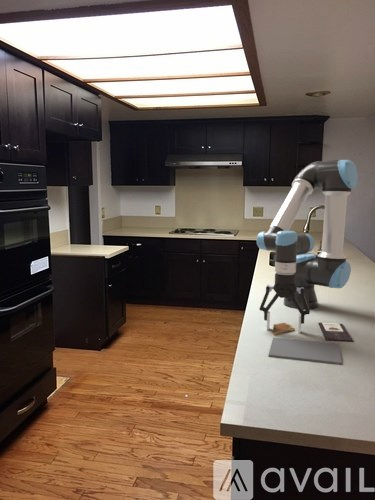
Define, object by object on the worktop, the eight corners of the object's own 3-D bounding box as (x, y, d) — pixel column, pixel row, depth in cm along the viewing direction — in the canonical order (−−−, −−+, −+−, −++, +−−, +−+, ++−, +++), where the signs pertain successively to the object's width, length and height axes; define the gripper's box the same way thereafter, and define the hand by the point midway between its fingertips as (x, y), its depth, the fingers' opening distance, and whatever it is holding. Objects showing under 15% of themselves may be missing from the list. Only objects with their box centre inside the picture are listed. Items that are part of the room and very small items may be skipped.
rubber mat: (273, 338, 146) (273, 337, 146) (338, 345, 139) (338, 343, 139) (268, 356, 131) (268, 354, 131) (341, 364, 124) (341, 362, 124)
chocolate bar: (326, 339, 144) (318, 322, 162) (326, 341, 144) (318, 325, 162) (353, 340, 143) (342, 323, 160) (352, 343, 143) (342, 326, 160)
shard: (273, 336, 150) (273, 331, 149) (259, 330, 156) (260, 325, 156) (295, 331, 155) (295, 327, 154) (281, 325, 161) (282, 321, 161)
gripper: (252, 273, 151) (251, 330, 154) (318, 276, 144) (316, 336, 147) (255, 269, 158) (253, 324, 161) (318, 272, 151) (315, 329, 154)
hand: (283, 330), depth 154 cm, fingers open, 11 cm apart
